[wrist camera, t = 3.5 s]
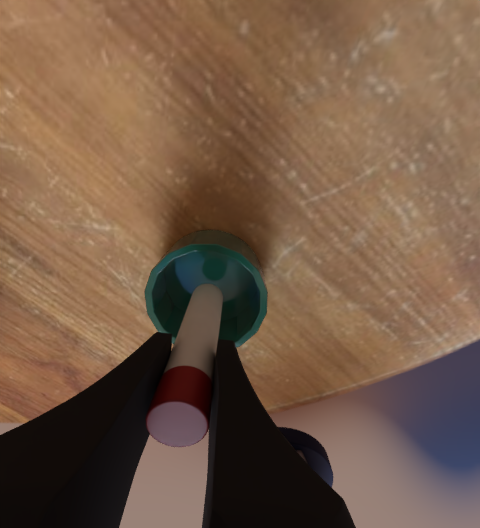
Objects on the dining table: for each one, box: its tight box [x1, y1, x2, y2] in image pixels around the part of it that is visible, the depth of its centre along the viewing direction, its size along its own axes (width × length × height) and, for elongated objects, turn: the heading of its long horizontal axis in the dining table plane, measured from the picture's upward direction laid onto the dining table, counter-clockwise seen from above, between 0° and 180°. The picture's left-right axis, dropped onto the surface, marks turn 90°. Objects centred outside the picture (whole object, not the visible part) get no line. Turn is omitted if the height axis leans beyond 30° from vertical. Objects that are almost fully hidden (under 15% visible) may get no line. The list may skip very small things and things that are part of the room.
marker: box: [145, 284, 223, 447], centre depth 12 cm, size 2×2×8 cm
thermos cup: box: [145, 230, 268, 347], centre depth 17 cm, size 7×7×4 cm
